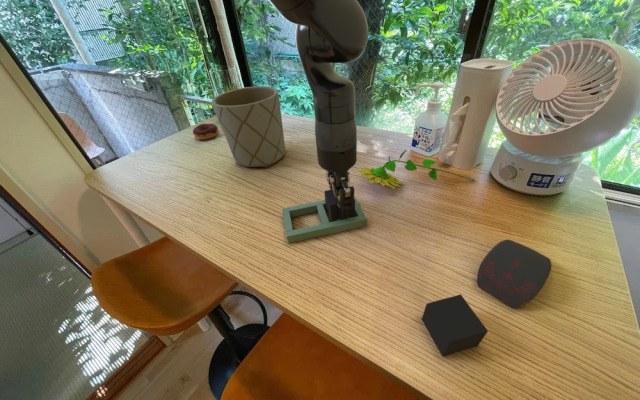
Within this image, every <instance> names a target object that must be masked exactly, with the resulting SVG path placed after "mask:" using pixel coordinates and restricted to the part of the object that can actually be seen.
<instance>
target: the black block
mask: <svg viewBox="0 0 640 400" xmlns="http://www.w3.org/2000/svg"><path fill="white" fill-rule="evenodd" d="M421 321H422V322H423V325H424V326H425V329H426V330H427V332H428V334H429V335H430V337H431V339H432V341H433V343H434V344H435V347H436V348H437V349H438V351H439V354H440V355H441V357H446V356H449V355H452V354H455V353H459V352H462V351H466V350H469V349H472V348H476V347H478V346H479V345H480V344H481V342H482V341H483V339H484V338H485V336H486V335H487V333H488V332H489V330H488V329H487V327H486V326H485V325H484V324H483V322H482V321H481V320H480V318H479V317H478V315H477V314H476V313H475V311H474V310H473V309H472V307H471V306H470V305H469V303H468V302H467V301H466V299H465V298H464V296H463V295H462V294H457V295H453V296H450V297H446V298H443V299H442V298H441V299H439V300H434V301H431V302H428V303H426V304H425V307H424V310H423V313H422V317H421Z"/></svg>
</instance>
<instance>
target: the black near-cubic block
mask: <svg viewBox="0 0 640 400" xmlns="http://www.w3.org/2000/svg"><path fill="white" fill-rule="evenodd" d="M336 191H337V192H339V191H340V190H336ZM323 192H324V193H323V194H324V200H325V203H326V208H327V213H328V216H329V218H330V222H334V221H338V220H340V219H339V217H338V206H337V199H336V197H335V196H334V195H333V189H332V190H330V189H328V190H327V189H326V190H324V191H323ZM352 217H355V199H354V200H353V208H352V209H349V217H348V218H352Z"/></svg>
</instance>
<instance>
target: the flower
mask: <svg viewBox="0 0 640 400" xmlns="http://www.w3.org/2000/svg"><path fill="white" fill-rule="evenodd" d="M406 152H407V149H405V150H404V151H403V152H402V153H401V154H400V155H399V159H398V160H397V159H393V160H391V155H389V156H388V161H386V162H385V163H384V165H383V166H378V167H377V168H376V167H367V166H363V167H361V166H359V168H358V169H357V170H356V172H357V173H359V174H361V175H360V176H361V177H365V179H369V180H368V182H369V184H374V183H376V184H380V186H382V187H385V186H387V187H390V188H391V189H393V190H396V188H397V187H400V188H401V184H402V185H403V183H402V182H400V181H399V179H398V178H397V177H395V176H394V175H393V174H391V173H388V172H387V171H390V172H392V173H395V172H396V168H397V164H396V162H398V163H404V164H405V165H404V169H405V170H406V171H410V172H413V171H417V170H418V167H421V168H423V169H429V171H428V177H430V178H431V179H433V181H437V180H438V172H443V173H447V174H451V175H454V176H457V177H461V178H464V179H468V180H472V181H476V179H474V178H471V177H467V176H464V175H461V174H457V173H454V172H451V171H447V170H442V167H443V166H444V165H445V163H446V162H447V158H446V159H445V160H444V161H443V163H442V164H441V165H440V167H439V169H437V168H435V167H432V166H433V165H435V164H436V163H437V162H436V161H434V160H432V159H423V161H422V164H421V165H420V164H415V162H413V161H412V160H411V159H407V160H406V161H403V160H401V159H402V157H403V156H404V154H405V153H406ZM437 171H438V172H437Z"/></svg>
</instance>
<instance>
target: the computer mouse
mask: <svg viewBox="0 0 640 400" xmlns="http://www.w3.org/2000/svg"><path fill="white" fill-rule="evenodd" d="M551 269H552V261H551V258H549V257H548V256H545V255H544V254H542V253H540V252H538V251H537V250H534V249H533V248H531V247H529V246H526V245H524V244H521V243H519V242H516V241H514V240H511V239H504V240H501V241H500V242H498V243H497V244H496V245H494V247H492V249H490V251H488V252H487V253H486V254H485V256H484V258H483V259H482V261H481V262H480V264H479V267H478V271H477V276H476V284H477V286H478V288H479V289H481V290H482V291H484V292H486V293H487V294H489V295H491V296H492V297H494V298H496V299H497V300H499V301H500V302H502V303H503V304H505V305H506V306H508V307H509V308H513V309H515V308H519V307H521V306H523V305H525V304H527V303H529V302H530V301H531V300H533V299H534V298H536V296H537V295H538V294H539V293H540V292H541V291H542V289H543V287H544V286H545V284H546V282H547V280H548V278H549V275H550V274H551Z"/></svg>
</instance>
